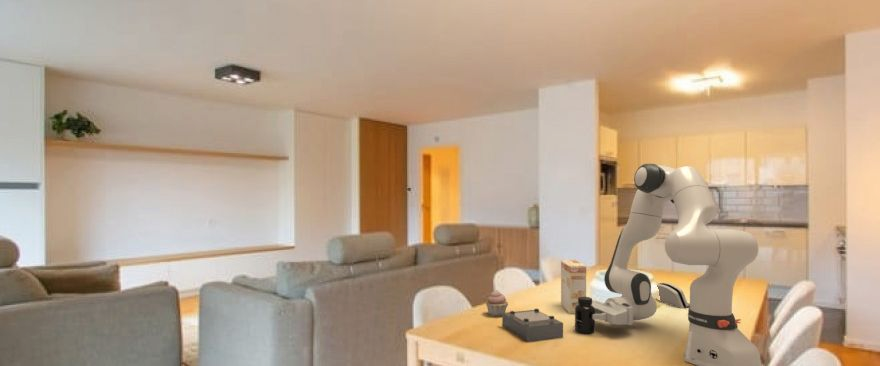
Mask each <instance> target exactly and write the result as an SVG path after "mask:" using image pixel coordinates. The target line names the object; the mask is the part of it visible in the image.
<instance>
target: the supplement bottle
mask: <svg viewBox="0 0 880 366" xmlns="http://www.w3.org/2000/svg"><path fill="white" fill-rule="evenodd" d="M592 300H593V298H592V297H589V296H586V297H578V303H579V304H578V305H576V307H575V314H574V330H575V332H577V333H578V334H581V335H592V334H594V333H595V331H596V330H595V329H596V320H593V319H591V314H594V313H595V308H594V307H593V306H592Z"/></svg>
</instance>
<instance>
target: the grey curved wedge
mask: <svg viewBox="0 0 880 366" xmlns="http://www.w3.org/2000/svg"><path fill="white" fill-rule="evenodd" d="M656 285H657V287H658V289H659V296H660V300H661V301H660V300H659V301H660V302H662V301H663V303H666V304H668V305H670V304H671V306H674V307H676V308H679V309H685V307H687V308H688V309H689V308H690V302H689V303H688V301H687V297H686V296H685V293H684V291H683V290H682V289H681V288H680V287H678V286H676V285H674V284H672V283H670V282H661V283H657V284H656Z"/></svg>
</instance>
